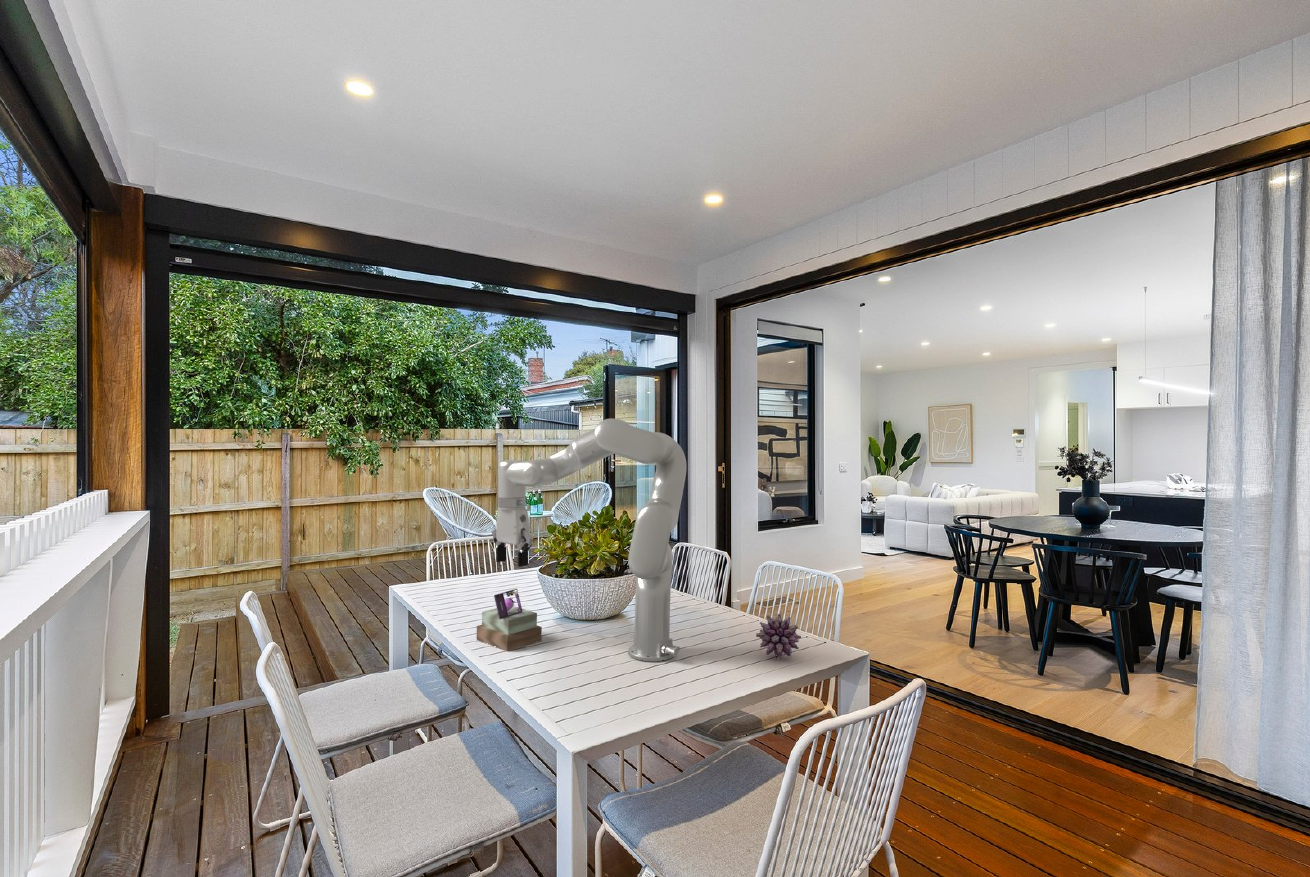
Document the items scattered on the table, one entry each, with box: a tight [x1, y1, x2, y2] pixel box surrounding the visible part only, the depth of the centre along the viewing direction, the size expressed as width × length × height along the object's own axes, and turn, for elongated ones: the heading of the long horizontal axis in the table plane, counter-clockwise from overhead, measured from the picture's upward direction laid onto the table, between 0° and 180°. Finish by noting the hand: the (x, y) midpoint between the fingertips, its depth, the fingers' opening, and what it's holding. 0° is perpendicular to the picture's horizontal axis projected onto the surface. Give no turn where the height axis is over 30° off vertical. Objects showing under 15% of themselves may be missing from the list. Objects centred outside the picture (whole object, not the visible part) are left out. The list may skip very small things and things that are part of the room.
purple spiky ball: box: [755, 613, 802, 660], centre depth 171 cm, size 12×12×12 cm
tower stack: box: [476, 605, 543, 652], centre depth 180 cm, size 14×12×8 cm
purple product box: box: [493, 588, 523, 619], centre depth 178 cm, size 7×5×9 cm
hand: (511, 563), depth 180 cm, fingers open, 9 cm apart
